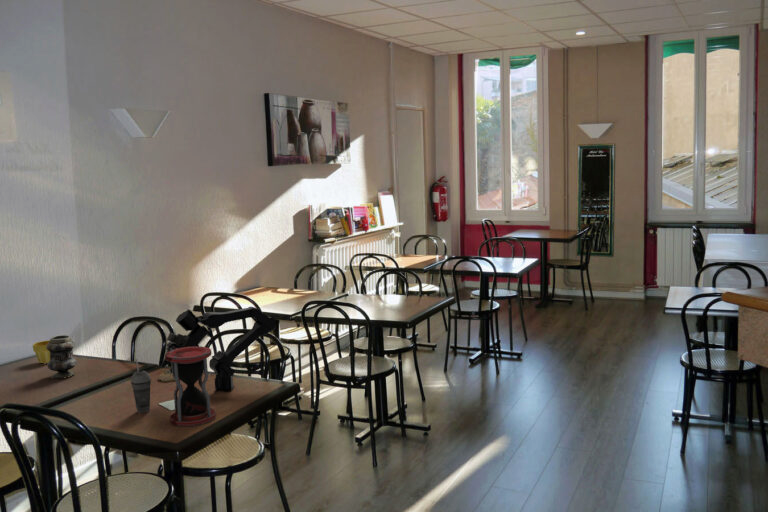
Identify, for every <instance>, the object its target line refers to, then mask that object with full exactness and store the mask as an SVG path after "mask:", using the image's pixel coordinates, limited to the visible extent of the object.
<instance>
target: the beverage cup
mask: <svg viewBox="0 0 768 512" xmlns="http://www.w3.org/2000/svg"><path fill="white" fill-rule="evenodd" d="M135 362H136V369H137V371H135V372H134V373H133V374H132V375H131V381H130V384H131V388H132V391H133V397H134V402H135V408H136V413H138V412H139V413H138V414H145V413H148V412H150V410H151V408H150V407H151V383H152V379H151V375H150V374H149V373H148V372H147V371H145V370H143V369H142V370H140V368H139V362H138V359H135ZM144 412H145V413H144Z"/></svg>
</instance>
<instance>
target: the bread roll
mask: <svg viewBox="0 0 768 512" xmlns="http://www.w3.org/2000/svg"><path fill="white" fill-rule="evenodd" d="M158 380H159V381H160V380H161V381H160V382H175V379H174V378H173V375H172V372H170V369H167V370H164V372H162V373H160V374H159V376H158ZM179 381H181V380H180V379H179Z"/></svg>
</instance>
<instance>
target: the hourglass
mask: <svg viewBox="0 0 768 512" xmlns="http://www.w3.org/2000/svg"><path fill="white" fill-rule="evenodd" d="M211 355H212V349H211V348H210V347H206V346H200V345H199V347H197V346H195V347H184V348H178V349H174V350H171V351H169V352H167V351H166V353H164V359H166V360H167V361H169V362H171V363H170V364H171V368H172V375H173V378H174V379H175V381H174V382H175V384H176V385H175V389H174V391H173V400H174V403H175V410H174V411H175V412H173V413H172V414H171V415H170V417H169V423H170V424H171V425H173V426H176V427H195V426H201V425H204V424H208V423H209V422H212V421H213V420H215V418H216V417H217V413H216V412H217V411H216V410H215V409H214V408H212V407H211V400H210V394H209V393H208V391H207V390H206V389H207V388H206V384H207V381H208V379H209V372H208V370H209V369H208V358H210V357H212V356H211ZM203 375H204V379H203ZM179 379H180V380H179ZM180 381H181V382H183V383H184V384H185V385H186V386H187V387H185V389H184V388H183V385H182V384H181V382H180ZM196 383H198V386H199V387H200V388H198V387H197V386H195V385H196ZM200 389H201V390H200Z"/></svg>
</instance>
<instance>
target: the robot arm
mask: <svg viewBox="0 0 768 512" xmlns="http://www.w3.org/2000/svg"><path fill="white" fill-rule="evenodd" d="M250 318H251V319H252V320H253V322H254V323H253V325H252V328H251V329H250V330H248V331H247V332H246V333H245V334H244V335H242V337H240V338H239V340H237V341H236V342H235V343H234V344H233V345H231V346H230V347H228V349H227V350H225V351H222V350H218V351H216V353H215V354H214V355H212V356H211V358H210V360H209V363H208V364H209V365H208V366H209V368H210V370H212V371H213V373H214V374H215V378H214V389H215V392H231V391H232V390H233V389H234V388H235V384H234V378H233V376H234V375H235V369H233V367H231V366H232V365H233V363H234V360H235V359H236V358H238V356H240V355H241V354H242V353H243V352H244V351H245V350H246V349H247V348H249V347H250V346H251V345H252V344H253V343H254V342H255V341H256V340H258V339H259V338H260V337H261V336H264V335H267V334H269V333H271V332H272V331H273V330H275V329H276V326H277V321H276V319H275V318H273V317H270V316H268V315H266V314H265V313H263V312H262V311H261V310H259V308H256V307H255V306H248V307H245V308H241V309H234V310H230V311H224V312H217V311H207V312H204V313H203V314H202V315H198V316H197V315H195V314H194V313H193V311H192V310H190V309H188V308H187V310H185V311H183V312H182V313H181V314H178V315H177V317H176V320H175V322H176V323H177V324H178V325H180V327H182V328H183V330H184V331H186V332H188V331H190V332H188V333H187V334H181V333H178V334H174V333H172V332H169V334H168V336H167V338H166V341H169V342H168V343H167V344H166V345H165V346H166V353H167V352H169V351H171V350H174V349H178V348H184V347H195V346H197V347H200V345H199V344H200V343H201V342H202V341H203V340H204V339H205V338H206V337H209V338H212V337H213V334H212V333H213V330H211V329H216V328H218V327H221V326H223V325H225V324H227V323H230V322H231V323H232V322H236V321H241V320H244V319H250ZM208 328H209V329H208ZM170 364H171V362H169V361H167V360H166V359H165V358H163V361H162V363H161V365H160V366H161V367H162V368H165V367H167V366H169V365H170ZM169 370H170V372H172V367H171V368H170V369H169Z"/></svg>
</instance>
